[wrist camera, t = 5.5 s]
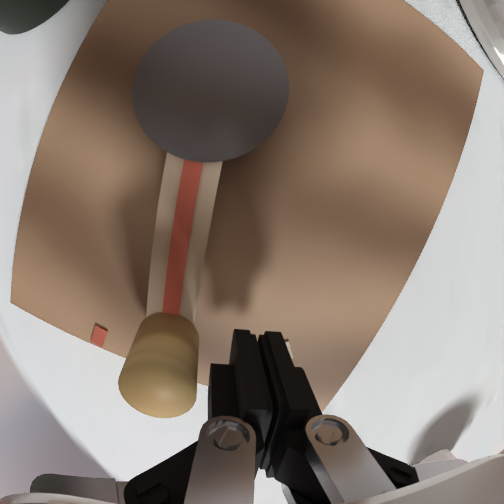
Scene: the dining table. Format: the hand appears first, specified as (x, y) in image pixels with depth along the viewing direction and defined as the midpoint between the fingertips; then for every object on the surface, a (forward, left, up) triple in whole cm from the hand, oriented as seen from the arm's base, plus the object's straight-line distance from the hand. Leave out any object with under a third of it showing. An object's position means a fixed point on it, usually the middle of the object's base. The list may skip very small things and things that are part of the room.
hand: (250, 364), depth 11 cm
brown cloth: (-7, -2, -3) cm, 8 cm away
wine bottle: (-12, -17, -4) cm, 20 cm away
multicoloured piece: (-4, -4, -2) cm, 6 cm away
